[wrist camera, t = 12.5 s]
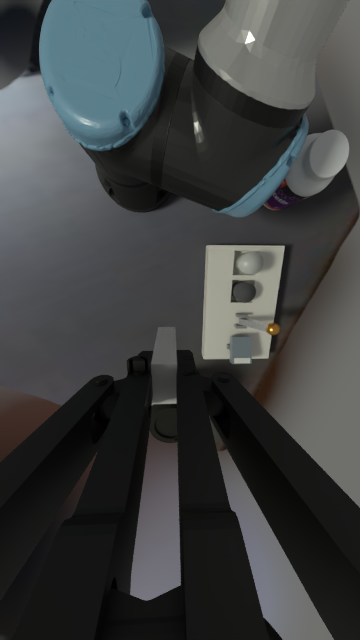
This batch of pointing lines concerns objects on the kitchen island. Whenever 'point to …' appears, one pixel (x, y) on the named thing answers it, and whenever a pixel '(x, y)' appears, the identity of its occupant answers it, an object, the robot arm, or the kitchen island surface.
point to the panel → (227, 310)
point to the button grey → (249, 263)
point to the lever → (260, 325)
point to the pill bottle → (311, 169)
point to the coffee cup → (164, 422)
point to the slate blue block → (240, 349)
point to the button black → (243, 291)
